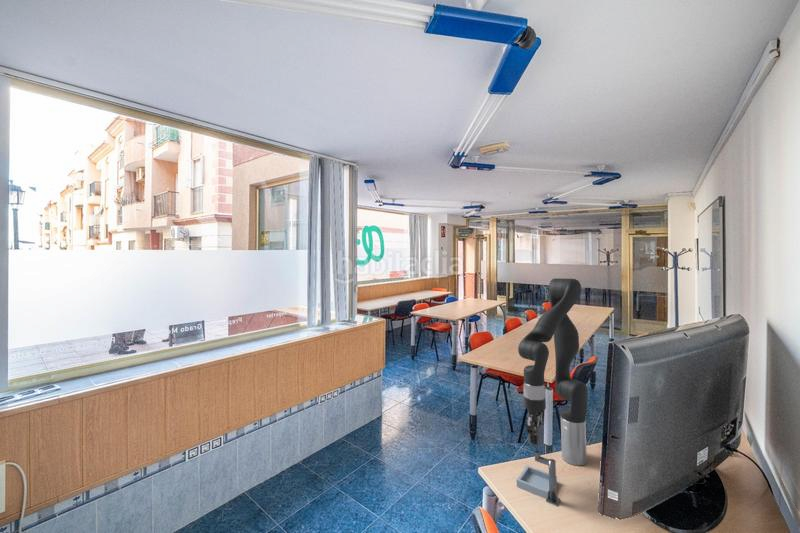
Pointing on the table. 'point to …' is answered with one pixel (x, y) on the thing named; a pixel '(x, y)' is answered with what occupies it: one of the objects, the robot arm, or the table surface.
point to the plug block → (538, 435)
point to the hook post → (552, 477)
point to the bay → (534, 481)
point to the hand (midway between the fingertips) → (535, 440)
